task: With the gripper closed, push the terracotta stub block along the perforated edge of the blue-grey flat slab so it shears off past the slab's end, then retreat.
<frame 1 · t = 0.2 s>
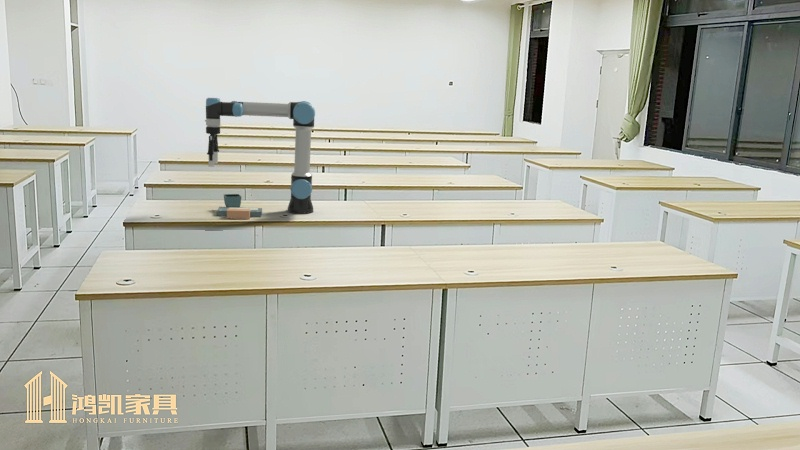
hand: (213, 165, 373), 28 cm above the table, fingers open, 13 cm apart
stub: (238, 213, 372), point 2 cm above the table, slide at 0.0 cm
flower pot: (232, 210, 391), on the table
blue-grey flat slab: (239, 214, 381), on the table
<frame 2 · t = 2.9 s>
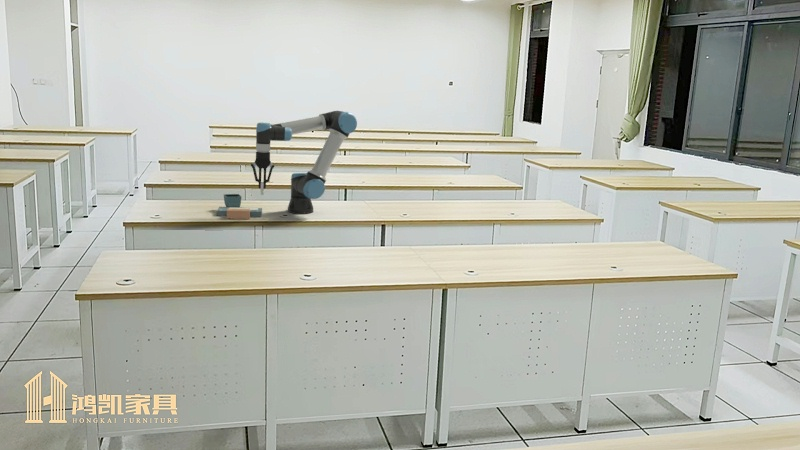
hand: (262, 194, 370), 14 cm above the table, fingers closed
nothing on the table moved.
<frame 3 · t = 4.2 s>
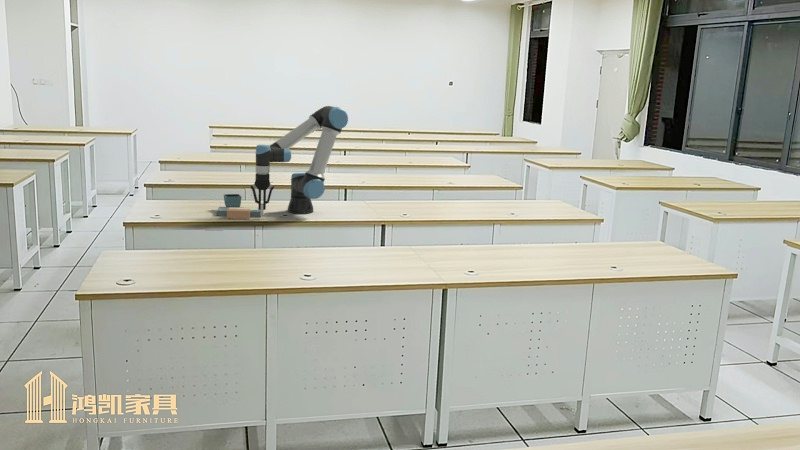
hand: (261, 215, 373), 2 cm above the table, fingers closed
nothing on the table moved.
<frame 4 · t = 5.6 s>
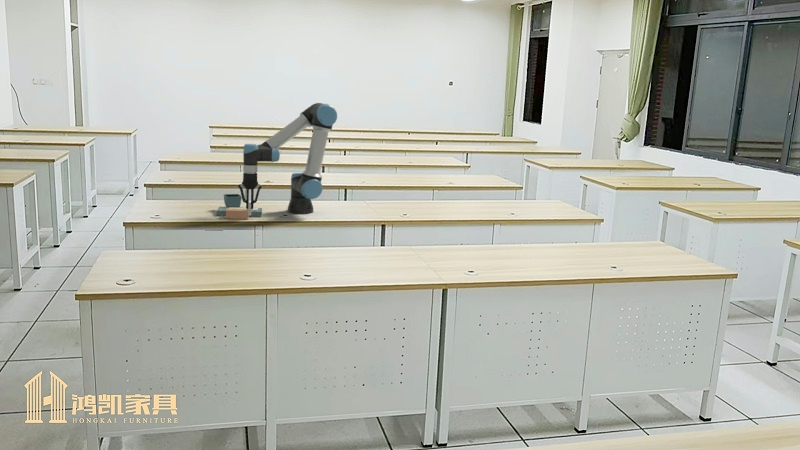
hand: (249, 214, 371), 2 cm above the table, fingers closed
stub: (237, 213, 372), point 2 cm above the table, slide at 0.6 cm, touching gripper
everything else where it was.
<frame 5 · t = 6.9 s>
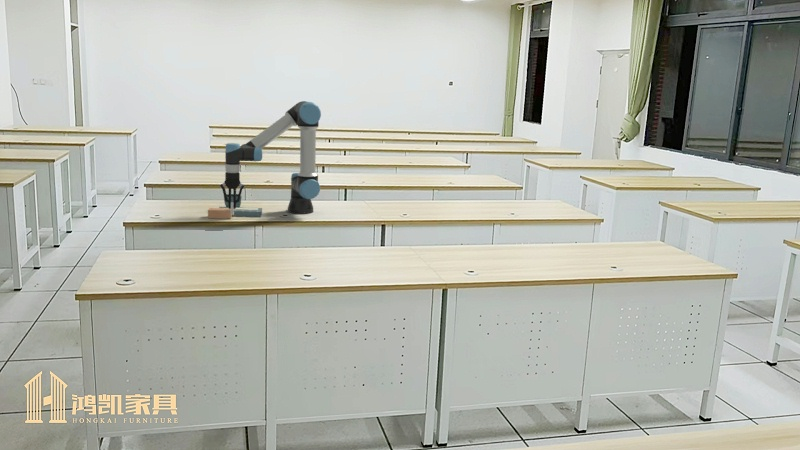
hand: (232, 214, 370), 2 cm above the table, fingers closed
stub: (220, 213, 370), point 2 cm above the table, slide at 10.0 cm, touching gripper
everything else where it was.
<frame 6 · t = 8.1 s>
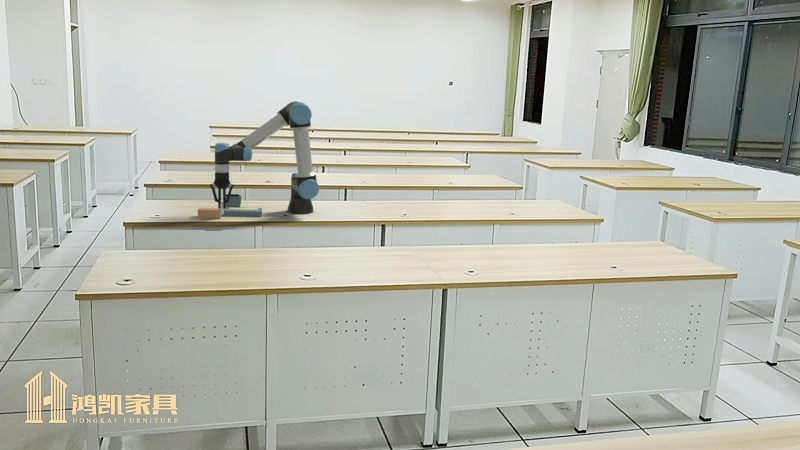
hand: (222, 214, 369), 2 cm above the table, fingers closed
stub: (209, 212, 370), point 2 cm above the table, slide at 15.5 cm, touching gripper
everything else where it was.
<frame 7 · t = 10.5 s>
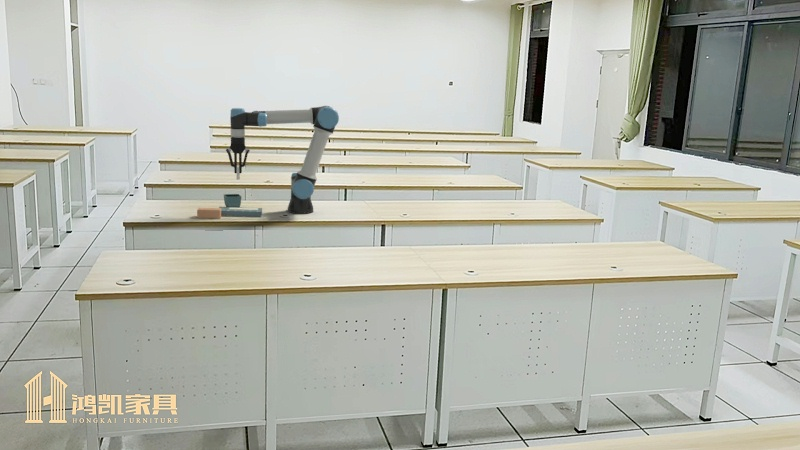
hand: (238, 179, 375), 21 cm above the table, fingers closed
stub: (209, 212, 370), point 2 cm above the table, slide at 15.7 cm
everything else where it was.
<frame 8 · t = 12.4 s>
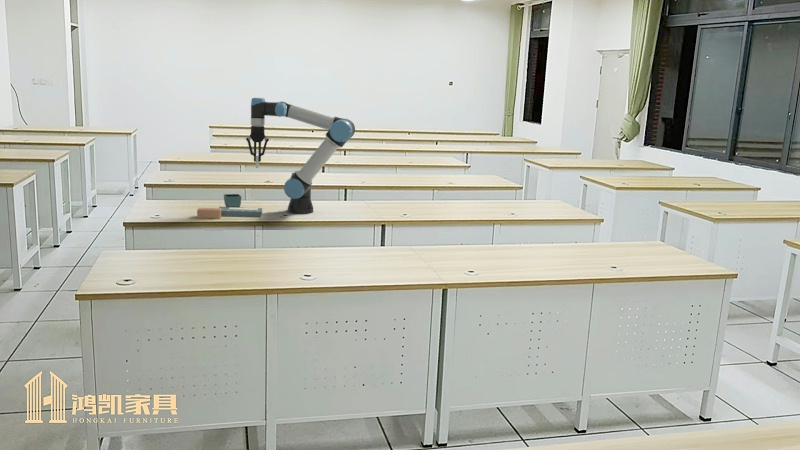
hand: (257, 167, 382), 26 cm above the table, fingers closed
nothing on the table moved.
at the end: stub slide at 15.7 cm; flower pot moved 0.3 cm from its start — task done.
